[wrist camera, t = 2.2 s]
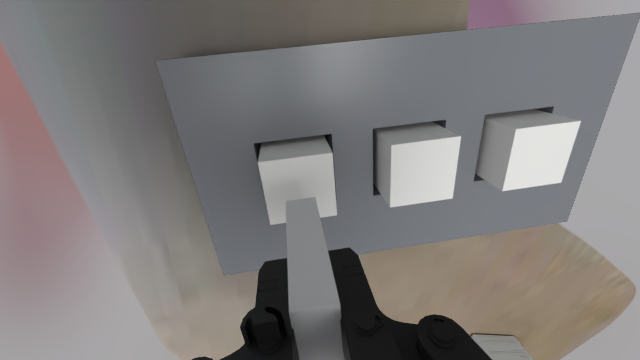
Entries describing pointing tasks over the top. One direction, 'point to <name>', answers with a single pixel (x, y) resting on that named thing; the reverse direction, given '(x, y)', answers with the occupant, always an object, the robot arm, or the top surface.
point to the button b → (415, 163)
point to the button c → (525, 148)
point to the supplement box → (501, 347)
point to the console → (384, 111)
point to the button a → (297, 175)
